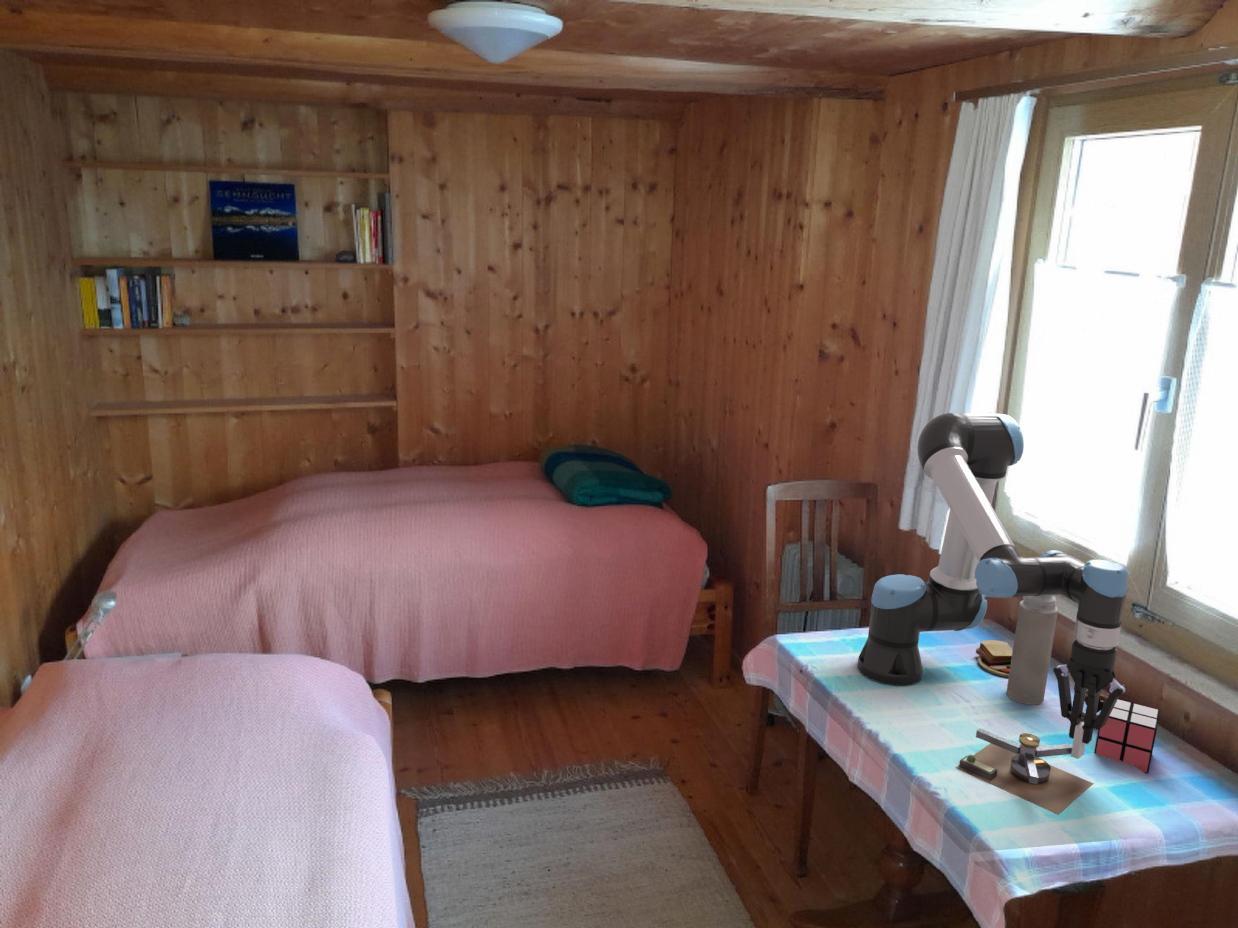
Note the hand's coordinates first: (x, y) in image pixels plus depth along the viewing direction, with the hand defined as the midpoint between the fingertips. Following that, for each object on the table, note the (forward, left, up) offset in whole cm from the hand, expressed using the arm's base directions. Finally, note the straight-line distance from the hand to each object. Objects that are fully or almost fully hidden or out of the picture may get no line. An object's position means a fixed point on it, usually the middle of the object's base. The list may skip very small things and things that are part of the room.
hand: (1077, 755), depth 184 cm
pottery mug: (-6, +27, -6) cm, 29 cm away
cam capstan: (-5, -7, -4) cm, 9 cm away
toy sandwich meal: (-33, +39, -6) cm, 51 cm away
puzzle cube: (+3, +18, -6) cm, 19 cm away
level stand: (-6, -8, -5) cm, 12 cm away
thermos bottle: (-22, +28, -6) cm, 36 cm away
